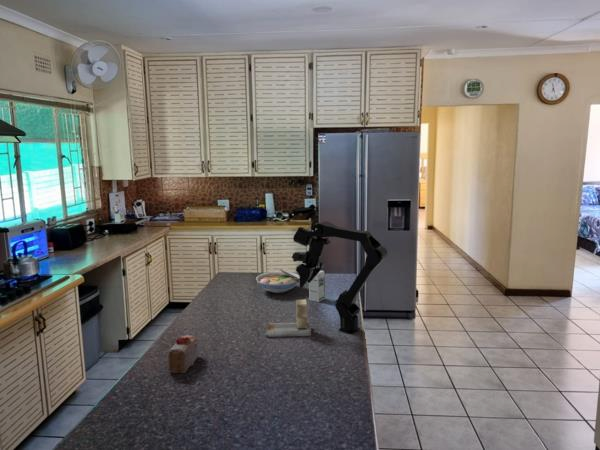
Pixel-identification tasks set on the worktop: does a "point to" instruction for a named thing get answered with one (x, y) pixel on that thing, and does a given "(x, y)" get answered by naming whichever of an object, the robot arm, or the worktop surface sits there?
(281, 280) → the ramen bowl
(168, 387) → the worktop surface
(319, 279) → the syrup box
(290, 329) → the fader track
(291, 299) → the worktop surface
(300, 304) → the lever
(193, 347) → the food item
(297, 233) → the robot arm
